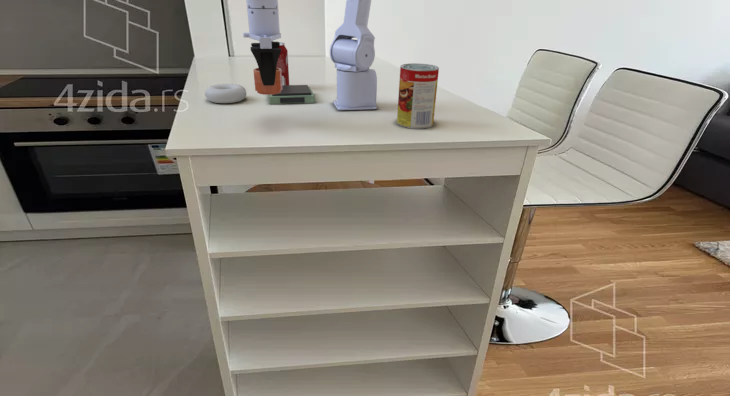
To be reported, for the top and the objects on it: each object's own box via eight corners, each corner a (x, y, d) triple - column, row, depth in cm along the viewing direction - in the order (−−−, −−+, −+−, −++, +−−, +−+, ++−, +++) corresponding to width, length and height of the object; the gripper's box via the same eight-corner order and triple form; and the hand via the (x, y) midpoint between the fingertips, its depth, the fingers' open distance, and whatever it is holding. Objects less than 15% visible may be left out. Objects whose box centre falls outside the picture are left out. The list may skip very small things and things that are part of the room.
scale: (310, 93, 116) (309, 84, 114) (314, 103, 106) (314, 93, 105) (269, 94, 113) (268, 85, 112) (269, 104, 103) (269, 94, 102)
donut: (197, 103, 103) (236, 106, 101) (195, 89, 101) (234, 91, 100) (218, 94, 112) (254, 96, 110) (216, 81, 110) (252, 83, 108)
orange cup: (282, 88, 89) (280, 66, 87) (283, 94, 84) (281, 71, 82) (255, 89, 88) (253, 67, 86) (255, 95, 83) (253, 72, 81)
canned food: (419, 116, 97) (424, 62, 92) (440, 126, 91) (446, 68, 85) (390, 120, 94) (393, 64, 88) (409, 130, 87) (414, 70, 82)
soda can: (287, 90, 117) (284, 45, 112) (262, 90, 117) (259, 44, 112) (291, 85, 123) (289, 42, 118) (268, 85, 123) (264, 41, 118)
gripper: (241, 6, 85) (248, 75, 91) (239, 9, 72) (247, 90, 78) (277, 6, 86) (282, 74, 92) (281, 10, 73) (285, 89, 80)
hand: (268, 82), depth 85 cm, fingers closed on orange cup, 5 cm apart
